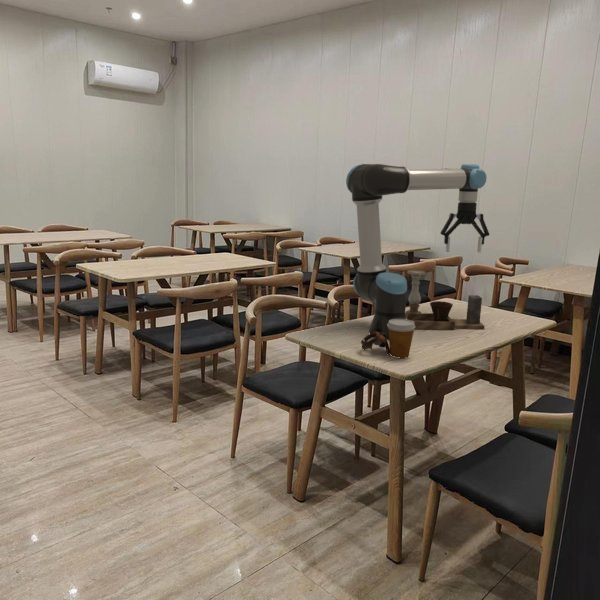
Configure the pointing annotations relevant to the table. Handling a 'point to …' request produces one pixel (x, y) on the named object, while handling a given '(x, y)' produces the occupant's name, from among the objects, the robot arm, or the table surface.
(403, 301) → the robot arm
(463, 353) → the table surface
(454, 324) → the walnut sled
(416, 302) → the candle holder
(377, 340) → the dark brown arched piece
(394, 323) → the disposable coffee cup
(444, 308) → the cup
